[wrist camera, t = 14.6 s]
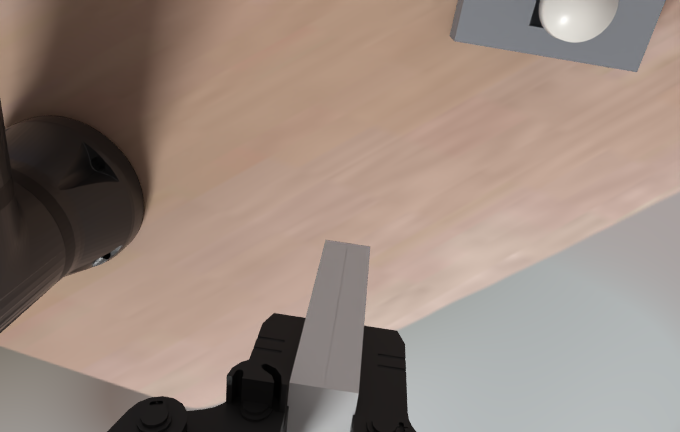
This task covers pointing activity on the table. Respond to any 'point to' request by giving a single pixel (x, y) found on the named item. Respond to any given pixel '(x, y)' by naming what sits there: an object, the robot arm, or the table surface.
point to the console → (530, 37)
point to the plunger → (576, 18)
